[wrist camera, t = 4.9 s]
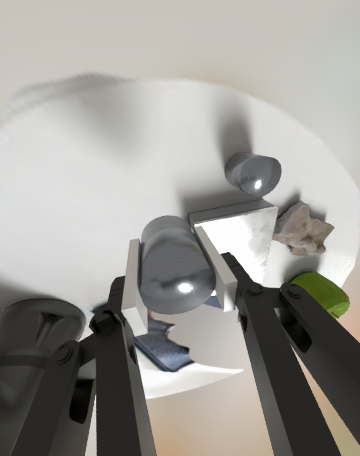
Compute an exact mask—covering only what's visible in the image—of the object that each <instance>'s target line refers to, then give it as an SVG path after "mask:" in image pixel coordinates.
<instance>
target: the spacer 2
mask: <svg viewBox="0 0 360 456" xmlns="http://www.w3.org/2000/svg"><path fill="white" fill-rule="evenodd" d="M225 176H226V179H227V181H228V182H229V183H230V184H232V185H234V186H236V187H237V188H239V189H241V190H243V191H244V192H246V193H248V194H250V195H251V196H254V197H261V196H264V195H266V194H268V193H270V192H271V191H272V190H273V189H274V188H275V187H276V185H277V184H278V182H279V180H280V177H281V165H280V163H279V162H278V160H276V159H275V158H272V157H266V156H261V155H256V154H250V153H244V152H242V153H238V154H236V155H234V156H233V157H232V158H231V159H230V160H229V161H228V163H227V165H226V169H225Z"/></svg>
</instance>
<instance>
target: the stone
mask: <svg viewBox="0 0 360 456" xmlns="http://www.w3.org/2000/svg"><path fill="white" fill-rule="evenodd" d="M333 229H334V226H332V225H331V224H328V223H326V222H324V221H322V220H319V219H316V218H314V217H311V216H309V205H308V204H305V203H303V202H302V201H300V202H298V203H296V204H295V205H293V206H291V207H290V208H289V209H288V211H287V212H285V213H284V214H283V215H282V216H281V217H280V218H279V219H278V220H277V221H276V223H275V227H274V232H273V236H272V240H276V241H279V242H280V243H282V244H287V245H290V246H291V250H290V252H291V254H292V255H293V256H304V255H321V254H323V253H324V252H325V250H326V248H325V246H324V245H323V243H324V240H325V239H326V237H327V236H328V235H329V234H330V233H331V232H332V231H333Z"/></svg>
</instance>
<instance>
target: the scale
mask: <svg viewBox="0 0 360 456" xmlns="http://www.w3.org/2000/svg"><path fill="white" fill-rule="evenodd" d="M273 206H274V205H272V204H271V203H269V202H267V201H265V200H263V199H262V200H256V201H251V202H246V203H241V204H236V205H230V206H225V207H220V208H215V209H210V210H204V211H199V212H194V213H189V222H190V226H191V228H192V230H193V232H194V222H198V221H203V220H208V219H213V218H218V217H223V216H228V215H233V214H238V213H243V212H248V211H253V210H258V209H263V208H268V207H273Z"/></svg>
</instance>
